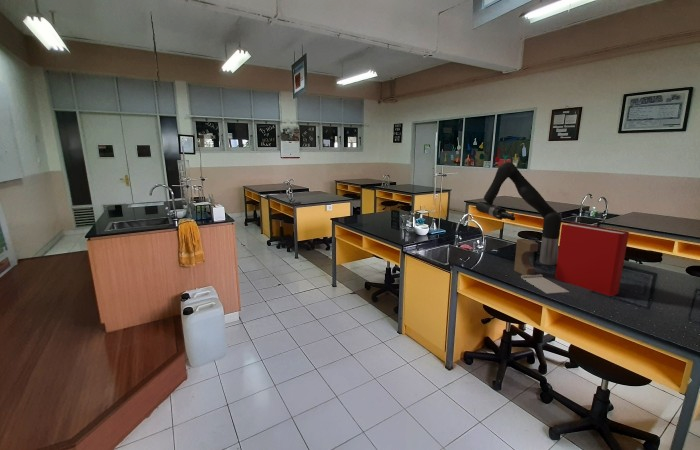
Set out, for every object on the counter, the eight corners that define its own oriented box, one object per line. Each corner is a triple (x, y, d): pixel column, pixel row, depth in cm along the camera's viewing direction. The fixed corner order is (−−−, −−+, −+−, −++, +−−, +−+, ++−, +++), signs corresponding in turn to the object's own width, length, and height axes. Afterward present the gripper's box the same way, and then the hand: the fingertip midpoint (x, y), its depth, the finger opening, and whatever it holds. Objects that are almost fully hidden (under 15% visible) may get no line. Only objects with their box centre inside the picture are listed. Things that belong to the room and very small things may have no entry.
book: (554, 278, 182) (561, 224, 175) (562, 276, 186) (569, 222, 179) (612, 296, 159) (622, 234, 152) (619, 292, 163) (630, 231, 156)
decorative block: (535, 276, 186) (539, 243, 182) (526, 277, 185) (530, 244, 181) (521, 269, 197) (524, 238, 192) (513, 270, 196) (516, 239, 191)
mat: (540, 276, 186) (540, 274, 185) (569, 292, 164) (569, 289, 164) (520, 277, 185) (521, 275, 184) (547, 293, 163) (547, 291, 163)
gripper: (489, 207, 214) (505, 213, 197) (507, 206, 216) (524, 212, 200) (487, 217, 216) (503, 224, 200) (505, 217, 218) (522, 224, 202)
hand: (514, 218), depth 200 cm, fingers closed
